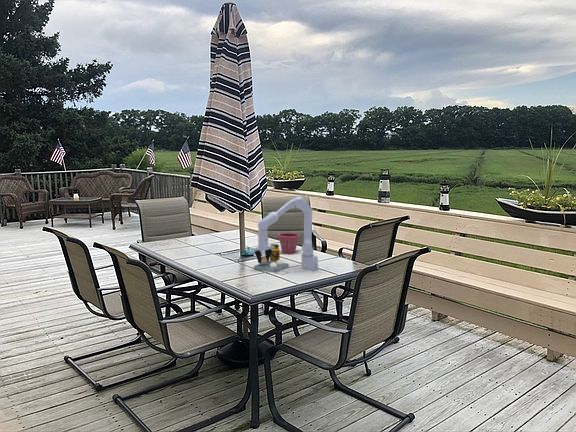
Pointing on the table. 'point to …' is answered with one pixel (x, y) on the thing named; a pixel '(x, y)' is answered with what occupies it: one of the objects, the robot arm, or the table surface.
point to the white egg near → (279, 262)
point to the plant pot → (288, 242)
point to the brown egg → (263, 260)
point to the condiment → (275, 253)
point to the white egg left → (273, 265)
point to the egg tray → (267, 268)
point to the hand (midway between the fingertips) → (263, 262)
